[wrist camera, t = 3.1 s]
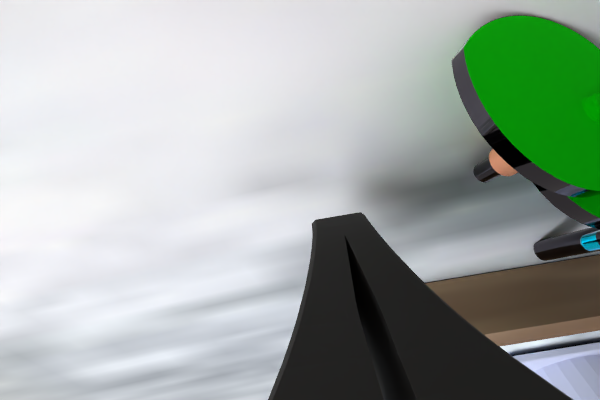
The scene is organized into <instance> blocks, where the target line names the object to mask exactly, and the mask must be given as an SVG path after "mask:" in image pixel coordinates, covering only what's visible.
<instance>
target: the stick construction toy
mask: <svg viewBox="0 0 600 400" xmlns="http://www.w3.org/2000/svg"><path fill="white" fill-rule="evenodd" d="M452 67H453V73H454V78H455V82H456V86H457V89H458V91H459V94H460V97H461V99H462V102H463V104H464V106H465V108H466V110H467V112H468V114H469V116H470V118H471V120H472V121H473V123H474V124H475V126H476V127H477V129H478V130H479V132H480V133H481V135H482V136H483V137H484V139H485V140H486V141H487V142H488V144H489V145H490V146H491V147H492V148H493V149H492V150H491V151H490V154H489V158H487V159H486V160H484V161H482V162H481V163H479V164H477V165H476V166H475V167H474V175H475V177H476V178H477V179H478V180H479V181H481V182H489V181H491V180H492V179H494V178H496V177H498V176H500V175H503V176H512V175H514V174H516V173H518V172H519V173H520V174H521V175H523V176H524V177H526V178H527V179H529V180H530V181H532V182H533V183H534V185H535V186H536V187H537V188H538V190H539V191H540V192H541V193H542V194H543V195H544V196H545V197H546V199H547V200H549V201H550V202H551V203H552V204H553V205H554V206H555V207H557V208H558V209H559V210H560V211H562V212H563V213H565V214H566V215H568V216H569V217H571V218H573V219H574V220H576V221H578V222H580V223H582V224H585V225H587V226H590V227H592V228H588V229H584V230H580V231H576V232H572V233H568V234H564V235H560V236H556V237H552V238H548V239H544V240H541V241H538V242H537V243H535V244H534V252H535V254H536V256H537V257H538V258H539V259H541V260H543V261H547V260H552V259H557V258H563V257H568V256H574V255H579V254H584V253H590V252H595V251H600V49H599V48H597V47H596V46H595V45H594V44H593V43H591V42H590V41H589V40H587V39H586V38H584V37H583V36H581V35H580V34H578V33H576V32H575V31H573V30H571V29H569V28H567V27H565V26H563V25H561V24H558V23H555V22H553V21H550V20H546V19H543V18H538V17H533V16H508V17H503V18H499V19H496V20H494V21H491V22H489V23H487V24H485V25H484V26H482V27H481V28H480V29H478V30H477V31H476V32H475V33H474V34H473V35H472V36H471V37H470V38H469V39H468V40H467V42H466V43H465V44H464V45H463V46H462V47H461V48H460V50H459V51H458V52H457V53H456V55H455V56H454V58H453V59H452Z"/></svg>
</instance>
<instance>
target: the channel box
mask: <svg viewBox="0 0 600 400" xmlns="http://www.w3.org/2000/svg"><path fill="white" fill-rule="evenodd" d="M425 284H426V285H427V286H428V287H429V288H430V289H431V290H433V291H434V292H435V293H436V294H437V295H438V296H439V297H440V298H441V299H442V300H443V301H444V302H446V303H447V304H448V305H449V306H450V307H451V308H452V309H453V310H455V311H456V312H457V313H458V314H459V315H460V316H462V317H463V318H464V319H465V320H466V321H468V322H469V323H470V324H471V325H473V326H474V327H475V328H476V329H477V330H479V331H480V332H481V333H482V334H484V335H485V336H486V337H488V338H489V339H490V340H491V341H493V342H494V343H495V344H497V345H498V346H505V345H511V344H517V343H523V342H530V341H536V340H542V339H548V338H554V337H561V336H567V335H573V334H579V333H586V332H592V331H598V330H600V255H595V256H589V257H583V258H577V259H571V260H565V261H559V262H553V263H547V264H541V265H534V266H528V267H522V268H516V269H510V270H504V271H498V272H492V273H486V274H480V275H473V276H467V277H461V278H455V279H449V280H443V281H437V282H431V283H425Z"/></svg>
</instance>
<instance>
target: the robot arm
mask: <svg viewBox="0 0 600 400" xmlns="http://www.w3.org/2000/svg"><path fill="white" fill-rule="evenodd" d="M312 230H313V239H312V251H311V259H310V265H309V270H308V275H307V281H306V286H305V290H304V294H303V298H302V302H301V305H300V309H299V313H298V317H297V320H296V324H295V327H294V330H293V333H292V337H291V340H290V343H289V346H288V349H287V351H286V354H285V357H284V360H283V363H282V366H281V368H280V371H279V373H278V376H277V378H276V381H275V384H274V386H273V389H272V391H271V394H270V396H269V399H268V400H600V342H598V343H591V344H585V345H579V346H573V347H566V348H560V349H554V350H548V351H542V352H535V353H529V354H523V355H517V356H511V355H510V354H508V353H507V352H506V351H504V350H503V349H502V348H500V347H499V346H498V345H497V344H495V343H494V342H493V341H491V340H490V339H489V338H488V337H486V336H485V335H484V334H482V333H481V332H480V331H479V330H477V329H476V328H475V327H474V326H473V325H471V324H470V323H469V322H468V321H466V320H465V319H464V318H463V317H462V316H460V315H459V314H458V313H457V312H456V311H455V310H453V309H452V308H451V307H450V306H449V305H448V304H447V303H446V302H444V301H443V300H442V299H441V298H440V297H439V296H438V295H437V294H436V293H435V292H434V291H433V290H431V289H430V288H429V287H428V286H427V285H426V284H425V283H424V282H423V281H422V280H421V279H420V278H419V277H418V276H417V275H416V274H415V273H414V272H413V271H412V270H411V269H410V268H409V267H408V266H407V265H406V264H405V263H404V262H403V261H402V259H401V258H400V257H399V256H398V255H397V254H396V253H395V252H394V251H393V250H392V249H391V248H390V246H389V245H388V244H387V243H386V242H385V241H384V239H383V238H382V237H381V236H380V235H379V233H378V232H377V231H376V230H375V229H374V227H373V226H372V225H371V223H370V222H369V221H368V219H367V218H366V217H365V215H364V214H362V213H361V212H360V213H354V214H348V215H342V216H336V217H330V218H324V219H318V220H315V221H314V222H313V223H312Z"/></svg>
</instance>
